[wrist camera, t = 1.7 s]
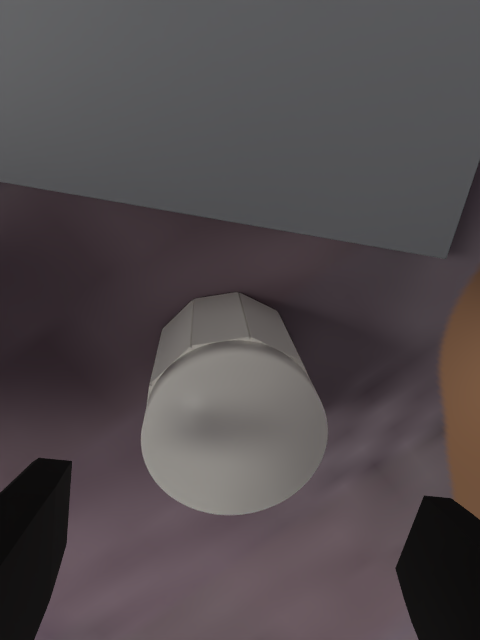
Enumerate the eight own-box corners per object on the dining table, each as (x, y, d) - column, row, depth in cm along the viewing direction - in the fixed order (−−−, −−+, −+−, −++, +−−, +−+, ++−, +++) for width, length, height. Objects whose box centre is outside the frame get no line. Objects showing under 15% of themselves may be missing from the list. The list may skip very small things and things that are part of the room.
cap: (151, 410, 17) (131, 510, 12) (168, 281, 15) (152, 339, 10) (276, 424, 17) (303, 525, 13) (305, 302, 16) (350, 365, 11)
